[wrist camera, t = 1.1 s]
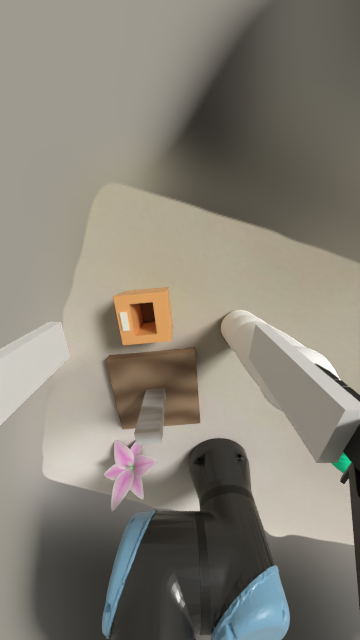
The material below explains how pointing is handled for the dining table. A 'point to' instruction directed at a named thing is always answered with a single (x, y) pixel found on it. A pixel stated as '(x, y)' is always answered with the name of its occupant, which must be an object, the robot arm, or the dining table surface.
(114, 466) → the lily
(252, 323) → the water bottle
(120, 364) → the board
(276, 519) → the dining table surface
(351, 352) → the dining table surface
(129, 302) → the orange slotted box
